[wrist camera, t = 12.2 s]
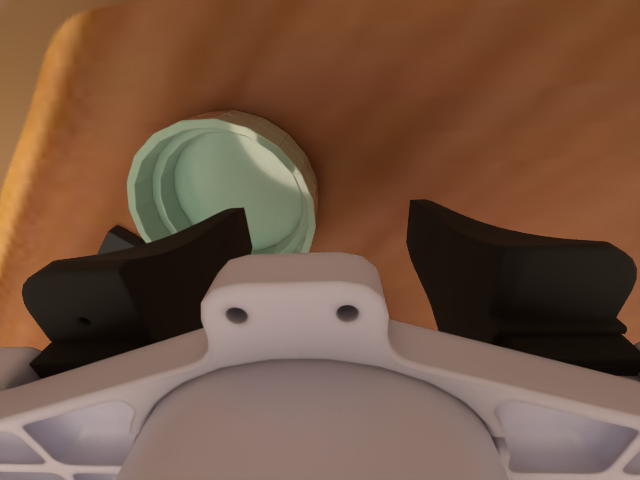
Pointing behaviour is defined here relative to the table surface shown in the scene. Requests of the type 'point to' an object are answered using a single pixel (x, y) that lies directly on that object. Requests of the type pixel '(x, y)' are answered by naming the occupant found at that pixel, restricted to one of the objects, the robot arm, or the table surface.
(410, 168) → the table surface
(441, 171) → the table surface
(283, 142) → the bowl
